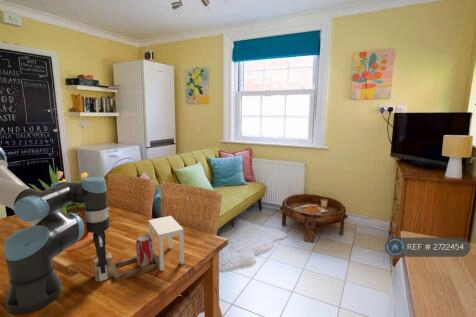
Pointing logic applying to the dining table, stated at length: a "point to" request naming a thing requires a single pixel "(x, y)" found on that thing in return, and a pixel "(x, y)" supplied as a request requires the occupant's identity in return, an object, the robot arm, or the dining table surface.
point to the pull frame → (112, 267)
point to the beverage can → (144, 251)
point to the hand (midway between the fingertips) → (102, 275)
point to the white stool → (166, 236)
